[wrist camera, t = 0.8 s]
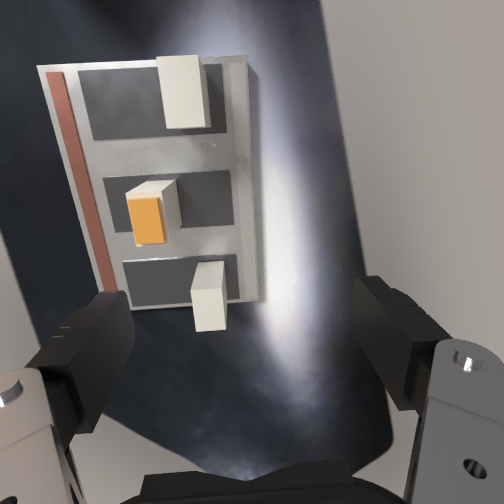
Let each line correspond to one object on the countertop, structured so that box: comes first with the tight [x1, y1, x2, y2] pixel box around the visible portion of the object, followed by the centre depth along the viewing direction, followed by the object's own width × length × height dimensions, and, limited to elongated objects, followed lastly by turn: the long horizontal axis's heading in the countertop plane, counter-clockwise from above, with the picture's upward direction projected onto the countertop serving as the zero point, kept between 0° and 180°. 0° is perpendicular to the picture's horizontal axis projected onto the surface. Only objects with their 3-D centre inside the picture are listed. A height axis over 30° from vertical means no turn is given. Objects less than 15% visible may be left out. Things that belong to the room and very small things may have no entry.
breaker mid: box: [125, 179, 182, 247], centre depth 24 cm, size 4×2×6 cm, turn 3°
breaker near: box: [156, 55, 211, 129], centre depth 21 cm, size 4×2×6 cm, turn 3°
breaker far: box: [190, 261, 227, 332], centre depth 27 cm, size 4×2×6 cm, turn 3°
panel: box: [37, 55, 259, 310], centre depth 28 cm, size 22×16×2 cm
